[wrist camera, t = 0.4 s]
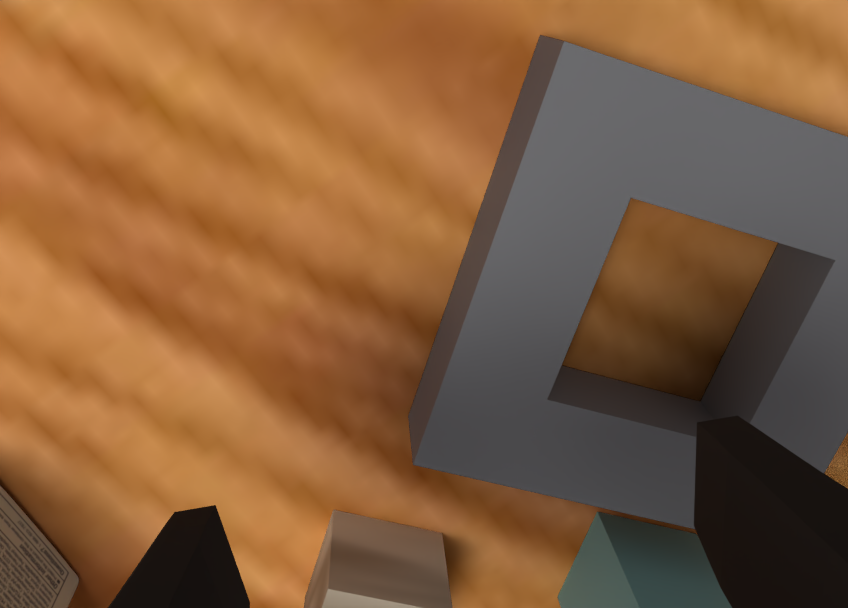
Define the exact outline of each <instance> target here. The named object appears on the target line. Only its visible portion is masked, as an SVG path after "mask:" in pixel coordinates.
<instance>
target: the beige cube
mask: <svg viewBox="0 0 848 608" xmlns="http://www.w3.org/2000/svg"><path fill="white" fill-rule="evenodd" d="M304 608H452V602H451V595H450V588H449V580H448V573H447V566H446V558H445V551H444V544H443V536H442V533H440V532H435V531H430V530H426V529H421V528H416V527H412V526H407V525H403V524H398V523H393V522H389V521H384V520H379V519H375V518H370V517H365V516H361V515H356V514H351V513H347V512H342V511H337V510H333V512H332V515H331V519H330V522H329V525H328V528H327V531H326V534H325V537H324V540H323V543H322V546H321V549H320V553H319V556H318V559H317V562H316V565H315V568H314V571H313V574H312V577H311V580H310V583H309V586H308V590H307V593H306V596H305V602H304Z"/></svg>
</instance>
